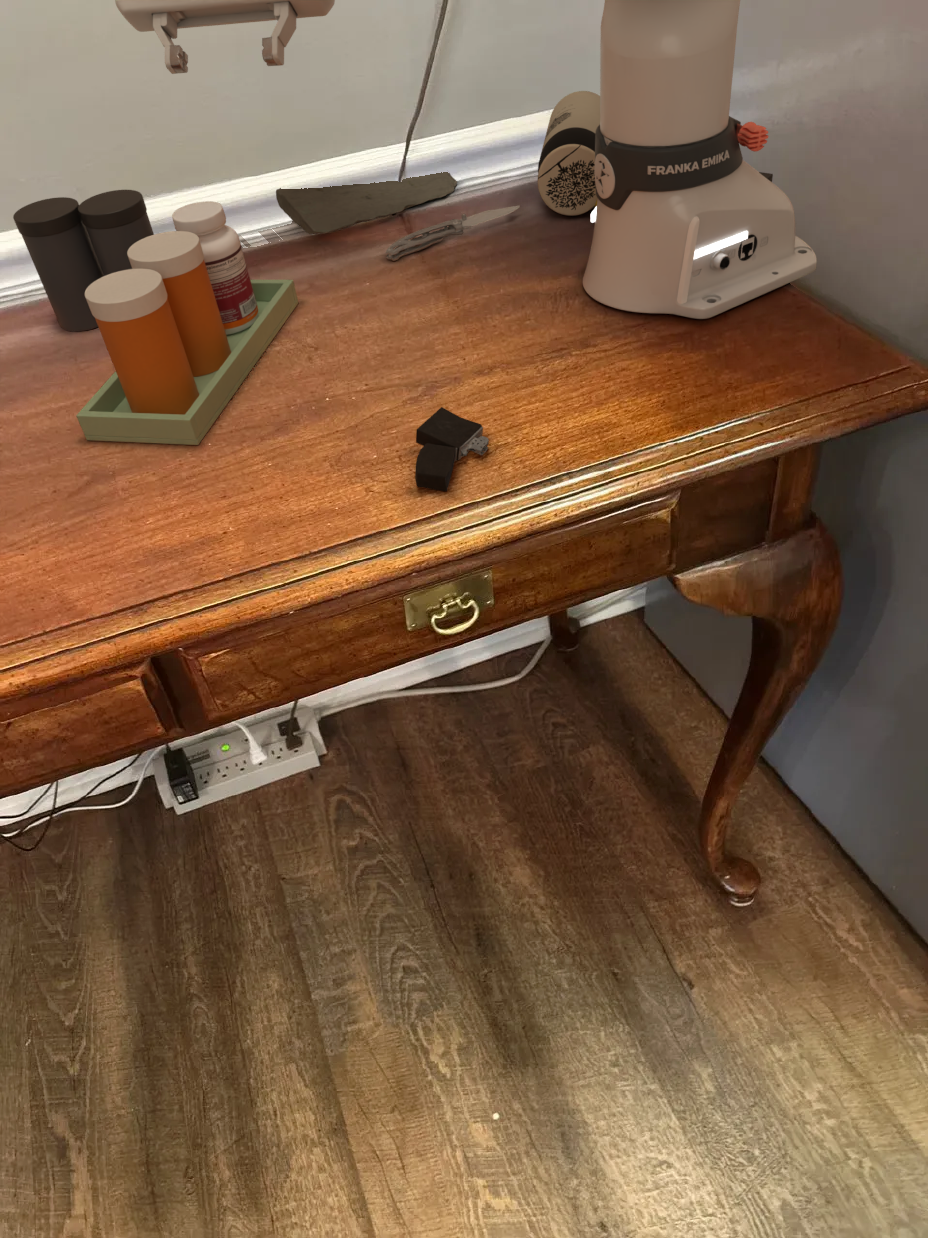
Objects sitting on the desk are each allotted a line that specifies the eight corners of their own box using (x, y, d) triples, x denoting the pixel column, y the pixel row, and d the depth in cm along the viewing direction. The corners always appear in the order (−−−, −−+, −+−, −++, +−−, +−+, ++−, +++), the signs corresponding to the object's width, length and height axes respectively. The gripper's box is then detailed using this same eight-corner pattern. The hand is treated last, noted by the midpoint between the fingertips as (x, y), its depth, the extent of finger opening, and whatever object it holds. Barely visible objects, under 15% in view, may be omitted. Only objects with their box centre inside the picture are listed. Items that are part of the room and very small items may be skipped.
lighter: (384, 477, 73) (440, 504, 71) (384, 457, 71) (442, 484, 70) (440, 426, 77) (494, 450, 76) (442, 405, 76) (497, 430, 74)
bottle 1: (225, 338, 92) (192, 224, 84) (239, 366, 87) (204, 249, 80) (162, 355, 90) (122, 241, 83) (172, 384, 86) (131, 267, 79)
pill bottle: (194, 316, 96) (160, 206, 88) (254, 302, 97) (225, 191, 89) (202, 343, 91) (166, 229, 84) (265, 328, 92) (235, 214, 85)
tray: (204, 301, 99) (197, 278, 97) (298, 302, 97) (293, 279, 95) (86, 440, 82) (75, 415, 80) (198, 445, 79) (189, 419, 78)
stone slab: (312, 218, 104) (269, 187, 109) (315, 242, 106) (272, 211, 111) (475, 177, 114) (428, 150, 119) (474, 200, 116) (428, 172, 121)
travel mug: (625, 139, 116) (620, 196, 103) (567, 171, 119) (556, 230, 107) (597, 76, 111) (588, 127, 99) (537, 111, 115) (522, 166, 102)
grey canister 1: (114, 298, 102) (75, 191, 94) (121, 321, 98) (80, 212, 90) (56, 313, 101) (11, 206, 93) (61, 337, 96) (14, 227, 89)
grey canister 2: (172, 291, 102) (137, 184, 94) (182, 314, 98) (146, 204, 90) (115, 306, 101) (74, 198, 93) (122, 330, 96) (80, 219, 88)
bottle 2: (194, 378, 87) (155, 261, 79) (206, 410, 82) (167, 290, 75) (127, 397, 85) (80, 280, 78) (136, 430, 81) (88, 310, 73)
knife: (527, 202, 106) (512, 194, 108) (388, 251, 101) (376, 241, 103) (527, 216, 107) (513, 208, 109) (390, 265, 102) (378, 255, 104)
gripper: (101, -102, 85) (101, 56, 86) (319, -126, 82) (318, 38, 82) (136, -55, 91) (136, 91, 92) (341, -76, 88) (339, 76, 89)
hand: (224, 66), depth 87 cm, fingers open, 8 cm apart
